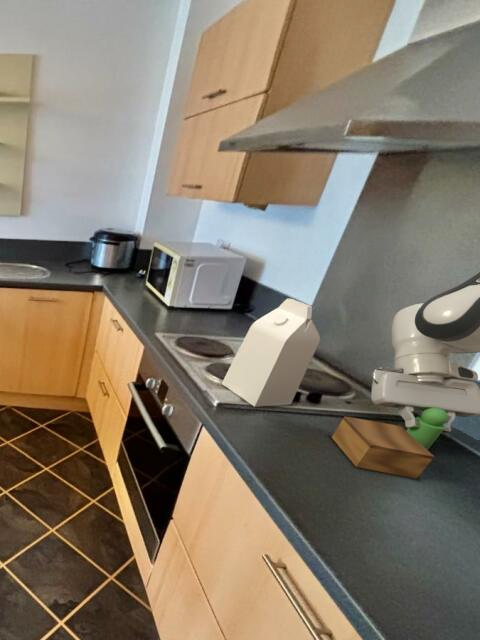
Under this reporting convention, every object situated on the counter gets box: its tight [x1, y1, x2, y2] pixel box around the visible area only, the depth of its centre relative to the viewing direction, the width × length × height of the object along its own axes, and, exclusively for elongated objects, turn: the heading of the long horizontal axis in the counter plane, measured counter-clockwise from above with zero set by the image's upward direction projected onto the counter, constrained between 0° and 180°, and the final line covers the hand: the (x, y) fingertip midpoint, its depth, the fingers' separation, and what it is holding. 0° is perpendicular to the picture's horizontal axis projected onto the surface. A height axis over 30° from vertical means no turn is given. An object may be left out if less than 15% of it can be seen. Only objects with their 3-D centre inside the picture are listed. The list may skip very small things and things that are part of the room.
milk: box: [221, 298, 321, 408], centre depth 107 cm, size 12×12×26 cm
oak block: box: [331, 416, 435, 479], centre depth 90 cm, size 11×11×6 cm
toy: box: [405, 408, 449, 451], centre depth 93 cm, size 5×5×10 cm
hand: (428, 429), depth 93 cm, fingers closed on toy, 5 cm apart
